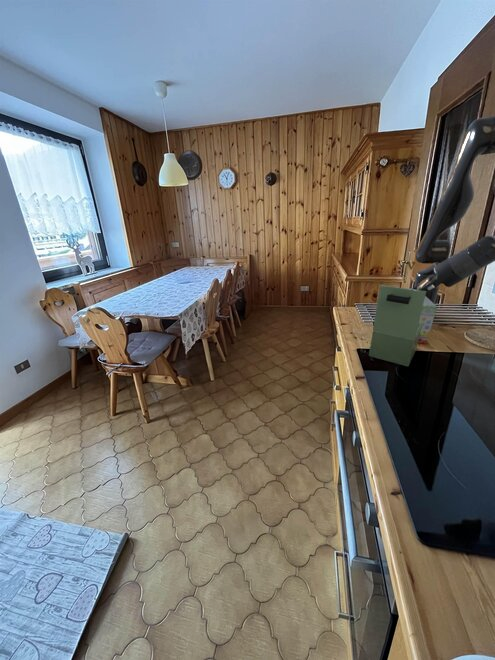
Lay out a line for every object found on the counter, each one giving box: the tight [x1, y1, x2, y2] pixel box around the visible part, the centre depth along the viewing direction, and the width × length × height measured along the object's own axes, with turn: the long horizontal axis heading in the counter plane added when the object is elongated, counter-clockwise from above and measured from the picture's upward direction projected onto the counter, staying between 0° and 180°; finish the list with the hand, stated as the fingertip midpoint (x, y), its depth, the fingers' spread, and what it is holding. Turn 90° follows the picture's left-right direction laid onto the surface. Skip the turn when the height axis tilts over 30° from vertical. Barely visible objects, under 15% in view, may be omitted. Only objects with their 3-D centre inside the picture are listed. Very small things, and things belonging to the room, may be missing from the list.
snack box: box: [418, 296, 438, 344], centre depth 112 cm, size 21×6×15 cm, turn 168°
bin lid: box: [372, 284, 426, 340], centre depth 87 cm, size 16×13×5 cm
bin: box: [368, 323, 423, 368], centre depth 99 cm, size 15×13×10 cm
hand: (405, 298), depth 93 cm, fingers open, 8 cm apart
